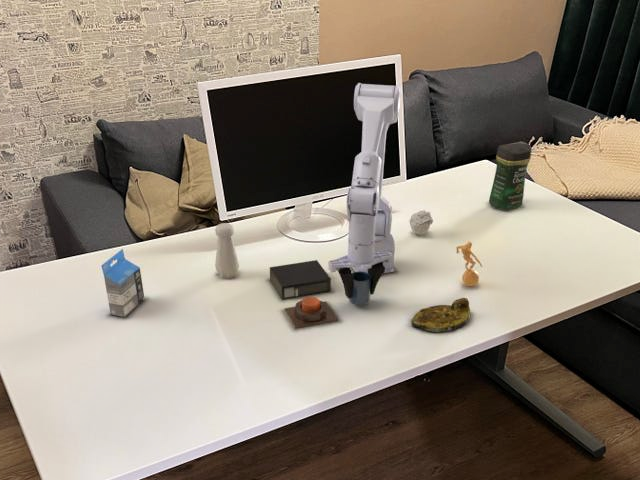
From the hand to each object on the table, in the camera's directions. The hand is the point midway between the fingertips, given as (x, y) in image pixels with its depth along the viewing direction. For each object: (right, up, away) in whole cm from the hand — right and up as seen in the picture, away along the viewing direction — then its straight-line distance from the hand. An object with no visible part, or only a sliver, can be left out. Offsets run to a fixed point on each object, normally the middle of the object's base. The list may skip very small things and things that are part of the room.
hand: (359, 294), depth 167 cm
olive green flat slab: (+18, -6, -3) cm, 20 cm away
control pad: (-11, -5, -3) cm, 12 cm away
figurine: (+26, +3, +10) cm, 28 cm away
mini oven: (-14, +3, +9) cm, 17 cm away
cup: (0, -1, +1) cm, 1 cm away
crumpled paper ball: (+18, +19, +33) cm, 42 cm away
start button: (-11, -3, -4) cm, 12 cm away
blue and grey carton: (-52, -3, -1) cm, 53 cm away
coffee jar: (+45, +31, +51) cm, 75 cm away
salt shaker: (-32, +6, +13) cm, 35 cm away
